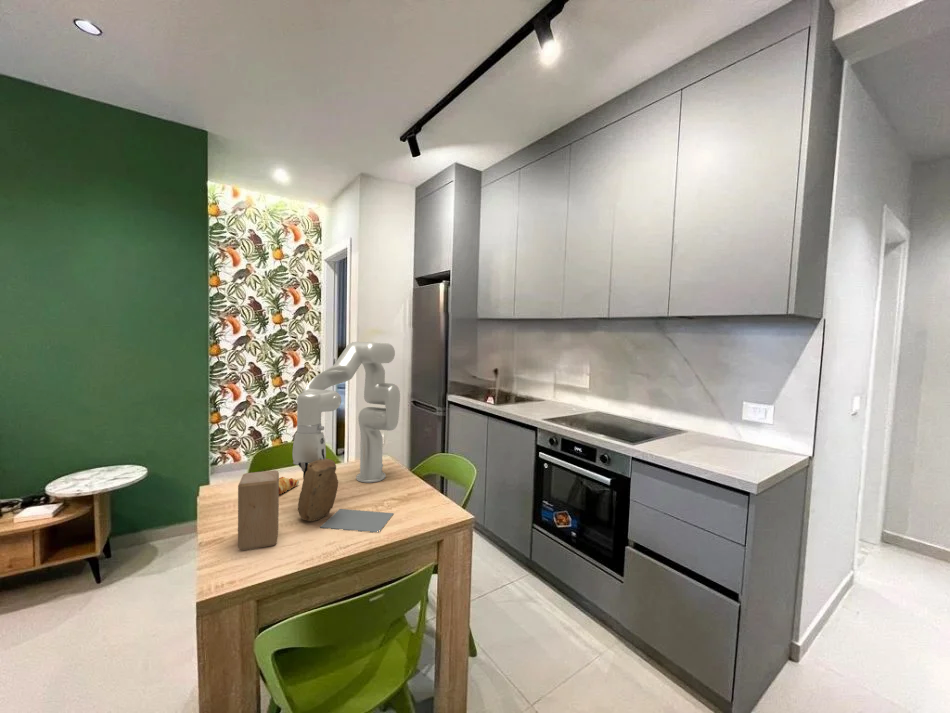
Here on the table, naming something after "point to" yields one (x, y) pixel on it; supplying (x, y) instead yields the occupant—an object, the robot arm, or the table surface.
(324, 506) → the brown rounded lump
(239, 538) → the wooden block
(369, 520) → the mat
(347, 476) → the table surface
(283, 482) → the croissant
